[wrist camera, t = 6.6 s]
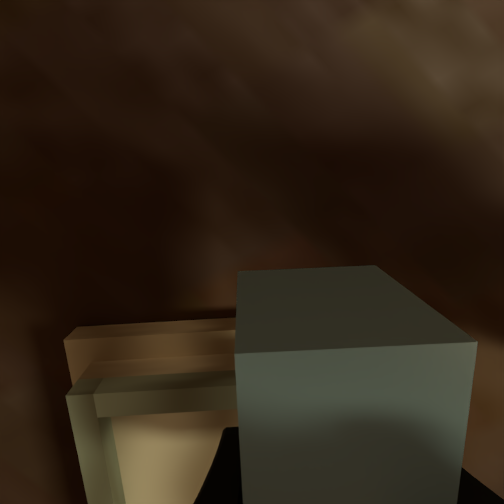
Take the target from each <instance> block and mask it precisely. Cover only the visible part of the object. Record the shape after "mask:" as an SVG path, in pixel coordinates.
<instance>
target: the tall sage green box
mask: <svg viewBox="0 0 504 504" xmlns="http://www.w3.org/2000/svg"><path fill="white" fill-rule="evenodd" d="M477 344H478V342H477V341H476V340H475V339H473V338H472V337H471V336H469V335H468V334H467V333H465V332H464V331H463V330H461V329H460V328H459V327H457V326H456V325H455V324H453V323H452V322H451V321H449V320H448V319H447V318H445V317H444V316H443V315H441V314H440V313H438V312H437V311H436V310H434V309H433V308H432V307H430V306H429V305H428V304H426V303H425V302H424V301H422V300H421V299H420V298H418V297H417V296H416V295H414V294H413V293H412V292H410V291H409V290H408V289H406V288H405V287H404V286H402V285H401V284H400V283H398V282H397V281H396V280H394V279H393V278H392V277H390V276H389V275H388V274H386V273H385V272H384V271H382V270H381V269H380V268H378V267H377V266H376V265H368V266H346V267H324V268H302V269H280V270H258V271H238V280H237V304H236V327H235V351H234V356H235V373H236V391H237V408H238V426H239V443H240V461H241V478H242V496H243V504H457V498H458V491H459V483H460V475H461V467H462V460H463V452H464V444H465V437H466V429H467V421H468V413H469V406H470V398H471V390H472V382H473V375H474V367H475V359H476V352H477Z"/></svg>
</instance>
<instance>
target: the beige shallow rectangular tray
mask: <svg viewBox="0 0 504 504" xmlns="http://www.w3.org/2000/svg"><path fill="white" fill-rule="evenodd" d="M235 327H236V318H218V319H201V320H184V321H167V322H150V323H133V324H116V325H99V326H82V327H76V328H75V329H74V330H73V331H72V332H71V333H70V334H69V335H68V336H67V337H66V338H65V339H64V340H63V341H64V346H65V351H66V356H67V361H68V366H69V371H70V376H71V381H72V385H73V387H72V388H71V389H70V391H69V392H68V393H67V394H66V401H67V406H68V410H69V415H70V420H71V425H72V429H73V434H74V439H75V444H76V449H77V453H78V458H79V463H80V468H81V473H82V477H83V482H84V487H85V492H86V497H87V501H88V504H193V503H194V501H195V499H196V497H197V495H198V493H199V491H200V489H201V487H202V485H203V483H204V481H205V478H206V476H207V474H208V471H209V469H210V467H211V464H212V462H213V459H214V457H215V454H216V451H217V449H218V446H219V443H220V439H221V436H222V431H223V430H224V429H225V428H226V427H239V426H238V408H237V391H236V373H235V356H234V351H235Z"/></svg>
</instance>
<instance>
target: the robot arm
mask: <svg viewBox="0 0 504 504" xmlns="http://www.w3.org/2000/svg"><path fill="white" fill-rule="evenodd" d="M193 504H243V496H242V478H241V461H240V443H239V427H226V428H225V429H224V430H223V431H222V436H221V439H220V443H219V446H218V449H217V451H216V454H215V457H214V459H213V462H212V464H211V467H210V469H209V471H208V474H207V476H206V478H205V481H204V483H203V485H202V487H201V489H200V491H199V493H198V495H197V497H196V499H195V501H194V503H193ZM457 504H504V500H503V499H502V498H501V497H499V496H498V495H497V494H495V493H494V492H493V491H491V490H490V489H489V488H487V487H486V486H485V485H483V484H482V483H481V482H480V481H478V480H477V479H476V478H474V477H473V476H472V475H471V474H469V473H468V472H467V471H466V470H464V469H463V468H462V467H461V475H460V483H459V491H458V498H457Z"/></svg>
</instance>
